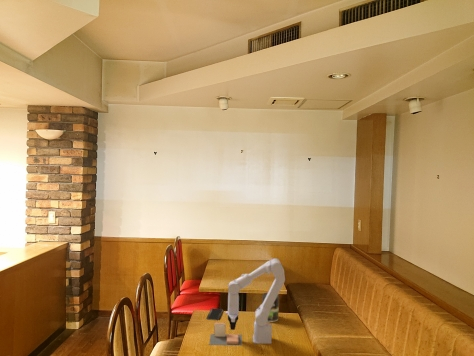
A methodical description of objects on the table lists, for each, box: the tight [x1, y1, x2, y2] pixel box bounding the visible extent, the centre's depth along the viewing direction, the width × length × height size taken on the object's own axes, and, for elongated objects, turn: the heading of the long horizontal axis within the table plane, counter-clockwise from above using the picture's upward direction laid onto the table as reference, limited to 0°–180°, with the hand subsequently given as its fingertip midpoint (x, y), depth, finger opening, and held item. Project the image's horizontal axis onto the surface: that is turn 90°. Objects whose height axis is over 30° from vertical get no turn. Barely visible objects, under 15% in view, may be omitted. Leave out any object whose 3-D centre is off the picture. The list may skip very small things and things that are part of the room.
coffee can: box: [261, 292, 280, 323], centre depth 204 cm, size 10×10×14 cm
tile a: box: [226, 333, 239, 344], centre depth 176 cm, size 6×1×7 cm
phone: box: [206, 308, 224, 321], centre depth 207 cm, size 8×1×15 cm
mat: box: [208, 333, 243, 346], centre depth 177 cm, size 17×11×1 cm, turn 91°
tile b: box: [213, 322, 227, 337], centre depth 180 cm, size 6×1×7 cm, turn 91°
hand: (232, 329), depth 178 cm, fingers closed
